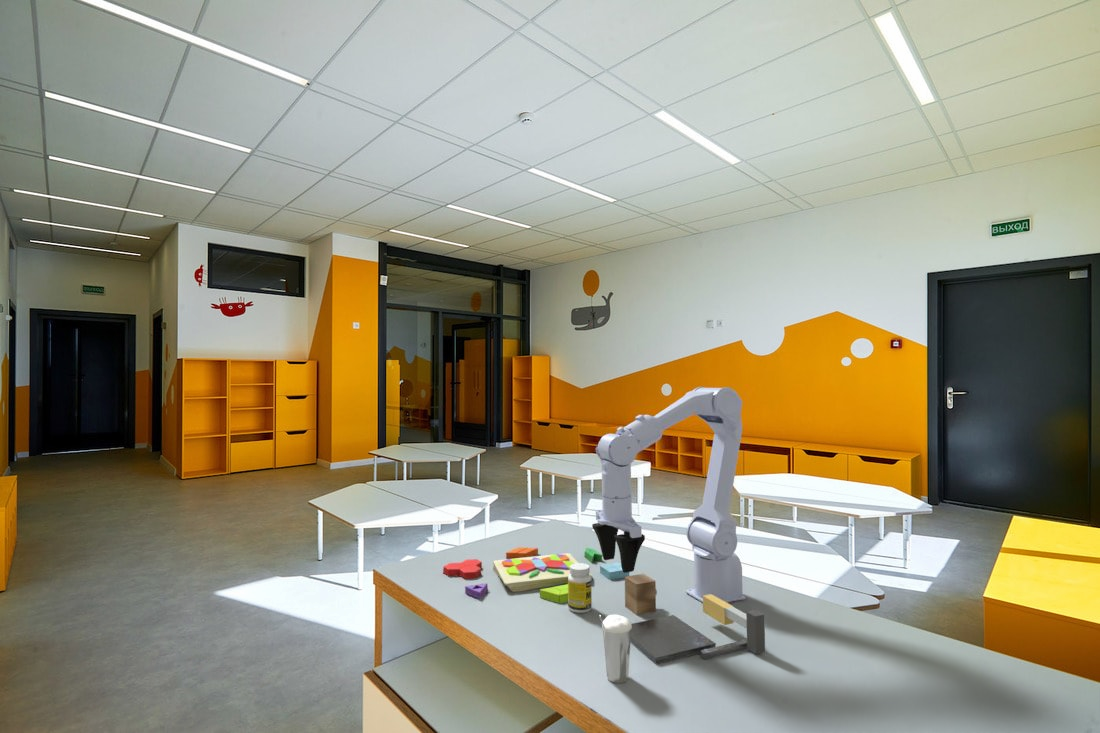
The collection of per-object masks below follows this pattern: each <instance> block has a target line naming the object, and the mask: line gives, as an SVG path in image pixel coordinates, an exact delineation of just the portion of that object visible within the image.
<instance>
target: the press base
mask: <svg viewBox="0 0 1100 733" xmlns="http://www.w3.org/2000/svg"><path fill="white" fill-rule="evenodd" d="M631 624H632V630H631V641H630V644H632V645H633V646H634V647H635V648H637V649H638V650H639V652H641V653H642V654H644V656H646V657H647V658H648V659H649V660H650V661H651V662H653V664H655V665H657V664H662V663H666V662H669V661H673V660H678V659H682V658H686V657H690V656H694V655H699V657H700V658H701V659H702V660H708V659H712V658H716V657H721V656H725V655H729V654H732V653H735V652H736V653H737V652H740V651H744V650H748V649H747V638H746V639H743V640H739V641H734V642H731V643H727V644H722V645H717V646H716V642H715V641H713V640H711V639H710V638H708V637H707V636H706V635H704V634H703V633H701V632H699V631H698V630H697V629H695V628H693V627H692V626H690V625H689V624H688V623H686V622H684V621H683V619H682V620H681V619H680V618H679V617H677V615H674V614H673V615H672V614H671V615H667V616H662V617H658V618H654V619H653V618H652V619H649V620H644V621H640V622H639V621H638V622H634V623H631Z"/></svg>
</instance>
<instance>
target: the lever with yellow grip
mask: <svg viewBox="0 0 1100 733" xmlns="http://www.w3.org/2000/svg"><path fill="white" fill-rule="evenodd" d="M702 613H704V614H705V615H707V616H709V617H710V618H712V619H713V620H716V621H717V622H719V623H721V624H722V625H724V626H727V625H732V624H734V623H736V624H737V625H739V626H740V627H743V628H744V629H746V639H747V649H746V650H748V651H750V652H752V653H754V654H755V655H757V654H761V653H764V652H766V632H765V630H766V628H765V626H766V625H765V620H766V619H765V613H762V612H761V611H759V610H756V609H754V610H748V611H746V612H743V611H742V610H740V609H738V608H736V607H734V606H733V605H732V604H730V603H729V602H728V603H726V602H725V601H723V600H721V599H719V598H717V597H716V596H714V595H712V594H709V595H704V596H703V602H702Z"/></svg>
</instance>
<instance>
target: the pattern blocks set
mask: <svg viewBox="0 0 1100 733" xmlns="http://www.w3.org/2000/svg"><path fill="white" fill-rule="evenodd" d="M505 554H506V555H505V558H506V559H497V560H496V559H495V560H493V565H492V571H494V573H495V574H496V575H497V577H499V579H500V580H501V581H502V583H503V584H504V586H506V587H507V588H508V589H509V590H510V591H511V592H513V593H518V592H523V591H530V590H531V591H532V590H535V589H539V592H538V593H539V598H540V599H544V600H547V601H551V602H553V603H558V604H561V603H566V602H567V603H568V577H569V575H570V565H572V564H576V563H579V562H578V560H576V558H575V557H574V556H573V555H572V554H571V553H569V552H568V553H567V552H566V553H557V554H547V555H546V554H545V555H538V554H539V548H538V547H524V546H523V547H519V546H518V547H516V548H513V549H512V550H508V551H506V553H505ZM583 554H584V558H585V559H586V560H587V561H588V562H590V564H593V563H594V561H597V562H600V563H603V555H602V553H600V552H598V551H597V550H595V549H594V548H591V547H590V548H589V547H585V551H584V553H583ZM482 565H483V563H482V560H479V559H478V558H473V559H471V558H470V559H464V560H463V561H461V562H449V563H448V564H446V565H444V566H443V570H442V574H444V575H446V576H448V577H453V576H460V577H461V578H463V579H465V580H467V579H468V580H469V579H477V578H478V577H480V576H481V575H482V568H483V566H482ZM599 570H600V571H599V574H601V575H602V576H604V577H605V578H606V579H607V580H609V581H612V580H618V579H625V577H627V576H630V572H627V573H624V572H623V570H622V567H621V562H612V563H607V564H606V563H604V564H601V565H599ZM589 575H590V576H591V580H593V574H592V573H590V574H589ZM464 588H465V590H464V592H465V595H469V596H471V597H474V598H476V599H478V600H482V598H483V597H484V596H485V595H487V593H488V592H489V589H488V588H489V587H488V583H479V584H473V585H472V584H471V585H465V586H464Z"/></svg>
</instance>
